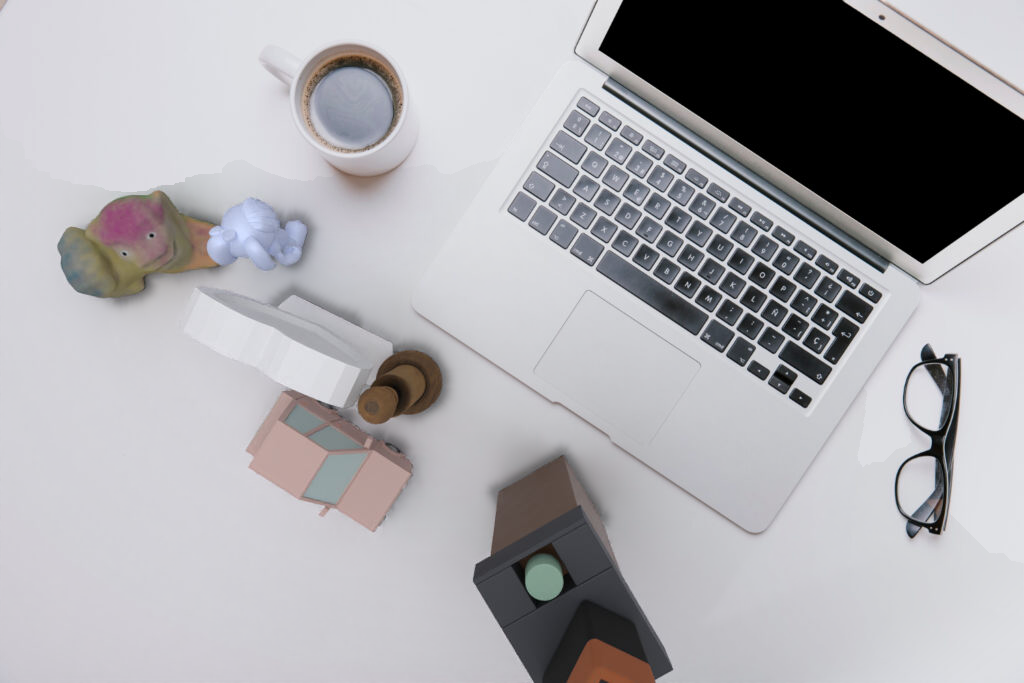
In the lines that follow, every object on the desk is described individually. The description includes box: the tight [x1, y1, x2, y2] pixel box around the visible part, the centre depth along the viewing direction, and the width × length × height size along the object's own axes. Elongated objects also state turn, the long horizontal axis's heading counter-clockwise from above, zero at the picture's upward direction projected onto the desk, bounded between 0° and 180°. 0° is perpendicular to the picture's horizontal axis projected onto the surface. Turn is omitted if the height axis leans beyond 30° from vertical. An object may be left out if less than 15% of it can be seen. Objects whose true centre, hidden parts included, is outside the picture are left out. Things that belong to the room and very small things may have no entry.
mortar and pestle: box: [357, 349, 443, 425], centre depth 61 cm, size 7×6×18 cm
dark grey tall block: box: [472, 454, 674, 683], centre depth 59 cm, size 13×9×24 cm
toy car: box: [245, 389, 414, 533], centre depth 66 cm, size 9×15×10 cm, turn 57°
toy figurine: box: [207, 196, 308, 272], centre depth 64 cm, size 7×6×12 cm
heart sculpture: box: [177, 285, 394, 409], centre depth 61 cm, size 16×5×18 cm, turn 64°
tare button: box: [525, 553, 563, 601], centre depth 47 cm, size 3×3×2 cm
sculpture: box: [56, 189, 220, 299], centre depth 65 cm, size 15×8×10 cm, turn 114°
